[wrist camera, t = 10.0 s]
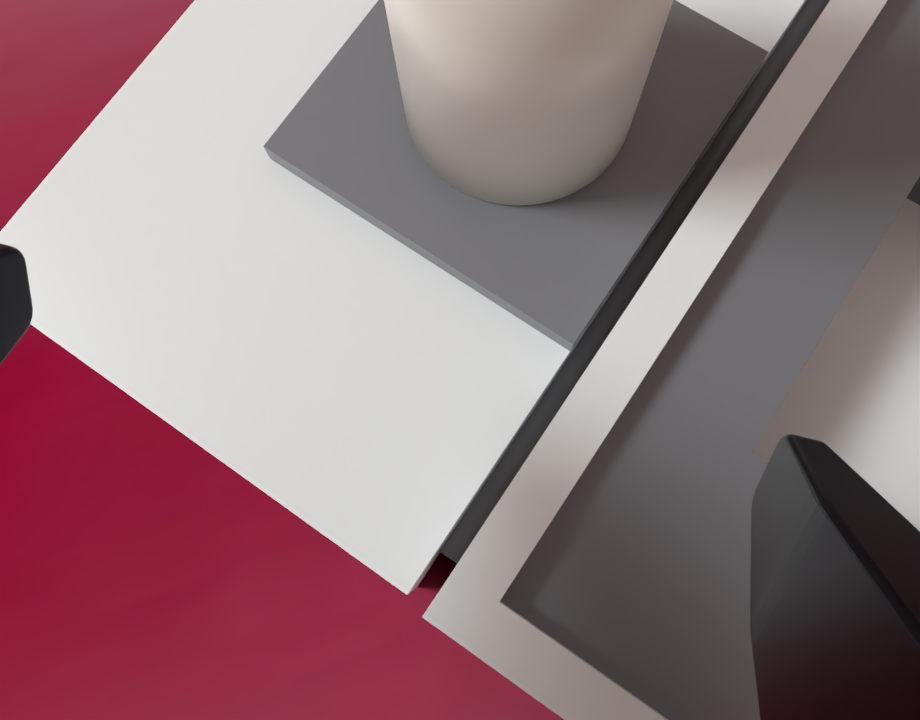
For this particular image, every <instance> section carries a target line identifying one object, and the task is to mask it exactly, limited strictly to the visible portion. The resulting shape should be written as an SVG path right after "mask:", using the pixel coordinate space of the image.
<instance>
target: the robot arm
mask: <svg viewBox="0 0 920 720" xmlns="http://www.w3.org/2000/svg"><path fill="white" fill-rule="evenodd" d="M32 314H33V306H32V299H31V293H30V286H29V280H28V273H27V267H26V261H25V258H24V256H23V254H22V253H21V252H20V251H19V250H18V249H17V248H15V247H12V246H8V245H4V244H0V365H1V364H2V362H3V361H4V360H5V358H6V357H7V356H8V354H9V353H10V352H11V350H12V349H13V348H14V346H15V345H16V344H17V342H18V341H19V340H20V339H21V337H22V336H23V335H24V333H25V332H26V331H27V329H28V327H29V325H30V323H31V319H32ZM750 631H751V643H752V653H753V662H754V671H755V680H756V688H757V697H758V706H759V715H760V720H920V531H919V530H918V529H917V528H916V527H914V526H913V525H912V524H911V523H910V522H909V521H908V520H907V519H906V518H905V517H904V516H903V515H902V514H901V513H899V512H898V511H897V510H896V509H895V508H894V507H893V506H892V505H891V504H890V503H889V502H888V501H887V500H886V499H884V498H883V497H882V496H881V495H880V494H879V493H878V492H877V491H876V490H875V489H874V488H873V487H872V486H870V485H869V484H868V483H867V482H866V481H865V480H864V479H863V478H862V477H861V476H860V475H859V474H858V473H857V472H855V471H854V470H853V469H852V468H851V467H850V466H849V465H848V464H847V463H846V462H845V461H844V460H843V459H842V458H840V457H839V456H838V455H837V454H836V453H835V452H834V451H833V450H832V449H831V448H830V447H829V446H828V445H826V444H825V443H824V442H821V441H819V440H814V439H810V438H806V437H802V436H798V435H793V434H788V435H785V436H784V437H782V438H781V440H780V441H779V442H778V444H777V446H776V448H775V450H774V452H773V454H772V456H771V458H770V460H769V462H768V464H767V466H766V469H765V471H764V473H763V475H762V477H761V479H760V481H759V483H758V485H757V487H756V490H755V493H754V496H753V501H752V508H751V569H750Z"/></svg>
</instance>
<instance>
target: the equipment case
mask: <svg viewBox="0 0 920 720" xmlns="http://www.w3.org/2000/svg"><path fill="white" fill-rule="evenodd" d="M0 244H4V245H8V246H12V247H15V248H17V249H18V250H19V251H20V252H21V253H22V254H23V256H24V258H25V261H26V267H27V273H28V280H29V286H30V293H31V299H32V306H33V314H32V319H31V323H30V324H31V325H33V326H34V327H35V328H37V329H38V330H39V331H41V332H42V333H44V334H45V335H46V336H48V337H49V338H51V339H52V340H53V341H55V342H56V343H58V344H59V345H60V346H62V347H63V348H65V349H66V350H67V351H69V352H70V353H71V354H73V355H74V356H76V357H77V358H78V359H80V360H81V361H83V362H84V363H85V364H87V365H88V366H90V367H91V368H92V369H94V370H95V371H96V372H98V373H99V374H101V375H102V376H103V377H105V378H106V379H108V380H109V381H110V382H112V383H113V384H115V385H116V386H117V387H119V388H120V389H121V390H123V391H124V392H126V393H127V394H128V395H130V396H131V397H133V398H134V399H135V400H137V401H138V402H140V403H141V404H142V405H144V406H145V407H146V408H148V409H149V410H151V411H152V412H153V413H155V414H156V415H158V416H159V417H160V418H162V419H163V420H165V421H166V422H167V423H169V424H170V425H172V426H173V427H174V428H176V429H177V430H178V431H180V432H181V433H183V434H184V435H185V436H187V437H188V438H190V439H191V440H192V441H194V442H195V443H197V444H198V445H199V446H201V447H202V448H203V449H205V450H206V451H208V452H209V453H210V454H212V455H213V456H215V457H216V458H217V459H219V460H220V461H222V462H223V463H224V464H226V465H227V466H228V467H230V468H231V469H233V470H234V471H235V472H237V473H238V474H240V475H241V476H242V477H244V478H245V479H247V480H248V481H249V482H251V483H252V484H254V485H255V486H256V487H258V488H259V489H260V490H262V491H263V492H265V493H266V494H267V495H269V496H270V497H272V498H273V499H274V500H276V501H277V502H279V503H280V504H281V505H283V506H284V507H285V508H287V509H288V510H290V511H291V512H292V513H294V514H295V515H297V516H298V517H299V518H301V519H302V520H304V521H305V522H306V523H308V524H309V525H310V526H312V527H313V528H315V529H316V530H317V531H319V532H320V533H322V534H323V535H324V536H326V537H327V538H329V539H330V540H331V541H333V542H334V543H336V544H337V545H338V546H340V547H341V548H342V549H344V550H345V551H347V552H348V553H349V554H351V555H352V556H354V557H355V558H356V559H358V560H359V561H361V562H362V563H363V564H365V565H366V566H367V567H369V568H370V569H372V570H373V571H374V572H376V573H377V574H379V575H380V576H381V577H383V578H384V579H386V580H387V581H388V582H390V583H391V584H392V585H394V586H395V587H397V588H398V589H399V590H401V591H402V592H404V593H405V594H406V595H408V594H409V593H410V592H412V591H413V590H414V589H416V588H417V587H418V585H419V584H420V582H421V581H422V579H423V578H424V576H425V575H426V573H427V572H428V570H429V569H430V567H431V566H432V564H433V563H434V561H435V560H436V558H437V557H438V555H439V554H440V552H441V553H443V554H444V555H445V556H447V557H448V558H450V559H451V560H453V561H454V562H455V563H457V565H456V566H455V568H454V569H453V571H452V573H451V574H450V576H449V577H448V579H447V580H446V582H445V583H444V585H443V586H442V588H441V589H440V591H439V592H438V594H437V595H436V597H435V598H434V600H433V601H432V603H431V604H430V606H429V607H428V609H427V610H426V612H425V613H424V615H423V616H422V617H423V618H424V619H425V620H427V621H428V622H430V623H431V624H432V625H434V626H435V627H437V628H438V629H439V630H441V631H442V632H443V633H445V634H446V635H448V636H449V637H450V638H452V639H453V640H455V641H456V642H457V643H459V644H460V645H461V646H463V647H464V648H466V649H467V650H468V651H470V652H471V653H473V654H474V655H475V656H477V657H478V658H479V659H481V660H482V661H484V662H485V663H486V664H488V665H489V666H491V667H492V668H493V669H495V670H496V671H497V672H499V673H500V674H502V675H503V676H504V677H506V678H507V679H509V680H510V681H511V682H513V683H514V684H515V685H517V686H518V687H520V688H521V689H522V690H524V691H525V692H527V693H528V694H529V695H531V696H532V697H533V698H535V699H536V700H538V701H539V702H540V703H542V704H543V705H545V706H546V707H547V708H549V709H550V710H551V711H553V712H554V713H556V714H557V715H558V716H560V717H561V718H563V719H564V720H760V715H759V706H758V697H757V688H756V680H755V671H754V662H753V653H752V643H751V631H750V569H751V508H752V501H753V496H754V493H755V490H756V487H757V485H758V483H759V481H760V479H761V477H762V475H763V473H764V471H765V469H766V466H767V464H768V462H769V460H770V458H771V456H772V454H773V452H774V450H775V448H776V446H777V444H778V442H779V441H780V440H781V438H782V437H784V436H785V435H788V434H793V435H798V436H802V437H806V438H810V439H814V440H819V441H821V442H824V443H825V444H826V445H828V446H829V447H830V448H831V449H832V450H833V451H834V452H835V453H836V454H837V455H838V456H839V457H840V458H842V459H843V460H844V461H845V462H846V463H847V464H848V465H849V466H850V467H851V468H852V469H853V470H854V471H855V472H857V473H858V474H859V475H860V476H861V477H862V478H863V479H864V480H865V481H866V482H867V483H868V484H869V485H870V486H872V487H873V488H874V489H875V490H876V491H877V492H878V493H879V494H880V495H881V496H882V497H883V498H884V499H886V500H887V501H888V502H889V503H890V504H891V505H892V506H893V507H894V508H895V509H896V510H897V511H898V512H899V513H901V514H902V515H903V516H904V517H905V518H906V519H907V520H908V521H909V522H910V523H911V524H912V525H913V526H914V527H916V528H917V529H918V530H919V531H920V0H673V3H672V6H671V9H670V11H669V14H668V17H667V20H666V23H665V26H664V29H663V32H662V35H661V38H660V41H659V44H658V47H657V50H656V53H655V56H654V58H653V61H652V64H651V67H650V70H649V73H648V76H647V79H646V82H645V85H644V88H643V91H642V94H641V97H640V100H639V102H638V105H637V108H636V111H635V114H634V117H633V120H632V123H631V126H630V129H629V132H628V135H627V137H626V140H625V142H624V144H623V146H622V148H621V150H620V152H619V153H618V155H617V156H616V157H615V159H614V160H613V162H612V163H611V164H610V165H609V166H608V168H607V169H606V170H605V171H604V172H603V173H602V174H601V175H600V176H598V177H597V178H596V179H595V180H593V181H592V182H591V183H590V184H588V185H587V186H585V187H583V188H582V189H580V190H578V191H577V192H575V193H572V194H570V195H568V196H566V197H563V198H560V199H557V200H554V201H550V202H547V203H541V204H535V205H520V206H515V205H502V204H497V203H491V202H487V201H483V200H480V199H477V198H474V197H472V196H469V195H467V194H465V193H463V192H461V191H459V190H457V189H456V188H454V187H453V186H451V185H449V184H448V183H446V182H445V181H444V180H443V179H442V178H440V177H439V176H438V175H437V174H436V173H435V172H434V171H433V170H432V169H431V168H430V167H429V166H428V165H427V164H426V162H425V161H424V159H423V158H422V157H421V155H420V154H419V152H418V151H417V149H416V147H415V145H414V143H413V140H412V138H411V135H410V132H409V129H408V126H407V121H406V116H405V111H404V105H403V100H402V94H401V89H400V84H399V78H398V73H397V68H396V62H395V57H394V52H393V46H392V41H391V36H390V30H389V25H388V20H387V14H386V9H385V4H384V0H195V1H194V2H193V3H192V4H191V5H190V6H189V8H188V9H187V10H186V11H185V12H184V14H183V15H182V16H181V17H180V18H179V20H178V21H177V22H176V23H175V24H174V25H173V27H172V28H171V29H170V30H169V31H168V33H167V34H166V35H165V36H164V37H163V39H162V40H161V41H160V42H159V43H158V45H157V46H156V47H155V48H154V49H153V50H152V52H151V53H150V54H149V55H148V56H147V58H146V59H145V60H144V61H143V62H142V64H141V65H140V66H139V67H138V68H137V70H136V71H135V72H134V73H133V74H132V75H131V77H130V78H129V79H128V80H127V81H126V83H125V84H124V85H123V86H122V87H121V89H120V90H119V91H118V92H117V93H116V95H115V96H114V97H113V98H112V99H111V100H110V102H109V103H108V104H107V105H106V106H105V108H104V109H103V110H102V111H101V112H100V114H99V115H98V116H97V117H96V118H95V120H94V121H93V122H92V123H91V124H90V125H89V127H88V128H87V129H86V130H85V131H84V133H83V134H82V135H81V136H80V137H79V139H78V140H77V141H76V142H75V143H74V145H73V146H72V147H71V148H70V149H69V150H68V152H67V153H66V154H65V155H64V156H63V158H62V159H61V160H60V161H59V162H58V164H57V165H56V166H55V167H54V168H53V170H52V171H51V172H50V173H49V174H48V175H47V177H46V178H45V179H44V180H43V181H42V183H41V184H40V185H39V186H38V187H37V189H36V190H35V191H34V192H33V193H32V195H31V196H30V197H29V198H28V199H27V200H26V202H25V203H24V204H23V205H22V206H21V208H20V209H19V210H18V211H17V212H16V214H15V215H14V216H13V217H12V218H11V219H10V221H9V222H8V223H7V224H6V225H5V227H4V228H3V229H2V230H1V231H0Z"/></svg>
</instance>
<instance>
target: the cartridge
mask: <svg viewBox="0 0 920 720" xmlns="http://www.w3.org/2000/svg"><path fill="white" fill-rule="evenodd" d="M672 3H673V0H384V4H385V9H386V14H387V20H388V25H389V30H390V36H391V41H392V46H393V52H394V57H395V62H396V68H397V73H398V78H399V84H400V89H401V94H402V100H403V105H404V111H405V116H406V121H407V126H408V129H409V132H410V135H411V138H412V140H413V143H414V145H415V147H416V149H417V151H418V152H419V154H420V155H421V157H422V158H423V159H424V161H425V162H426V164H427V165H428V166H429V167H430V168H431V169H432V170H433V171H434V172H435V173H436V174H437V175H438V176H439V177H440V178H442V179H443V180H444V181H445V182H446V183H448V184H449V185H451V186H453V187H454V188H456V189H457V190H459V191H461V192H463V193H465V194H467V195H469V196H472V197H474V198H477V199H480V200H483V201H487V202H491V203H497V204H502V205H515V206H520V205H535V204H541V203H547V202H550V201H554V200H557V199H560V198H563V197H566V196H568V195H570V194H572V193H575V192H577V191H578V190H580V189H582V188H583V187H585V186H587V185H588V184H590V183H591V182H592V181H593V180H595V179H596V178H597V177H598V176H600V175H601V174H602V173H603V172H604V171H605V170H606V169H607V168H608V166H609V165H610V164H611V163H612V162H613V160H614V159H615V157H616V156H617V155H618V153H619V152H620V150H621V148H622V146H623V144H624V142H625V140H626V137H627V135H628V132H629V129H630V126H631V123H632V120H633V117H634V114H635V111H636V108H637V105H638V102H639V100H640V97H641V94H642V91H643V88H644V85H645V82H646V79H647V76H648V73H649V70H650V67H651V64H652V61H653V58H654V56H655V53H656V50H657V47H658V44H659V41H660V38H661V35H662V32H663V29H664V26H665V23H666V20H667V17H668V14H669V11H670V9H671V6H672Z"/></svg>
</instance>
